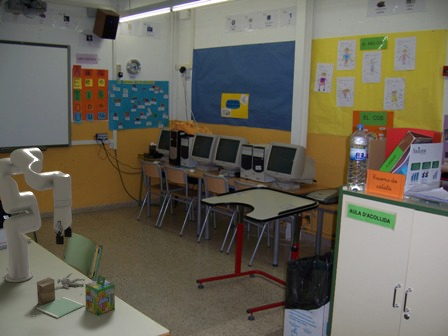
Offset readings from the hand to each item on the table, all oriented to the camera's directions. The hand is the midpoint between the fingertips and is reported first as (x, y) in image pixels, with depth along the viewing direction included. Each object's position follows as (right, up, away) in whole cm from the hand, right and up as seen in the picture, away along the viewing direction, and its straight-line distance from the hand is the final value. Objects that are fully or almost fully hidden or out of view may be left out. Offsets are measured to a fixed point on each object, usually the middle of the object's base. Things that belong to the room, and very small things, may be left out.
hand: (64, 240), depth 207 cm
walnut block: (-9, -28, +3) cm, 29 cm away
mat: (-1, -29, -2) cm, 29 cm away
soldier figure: (-3, -25, +20) cm, 32 cm away
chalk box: (+17, -29, -3) cm, 34 cm away
